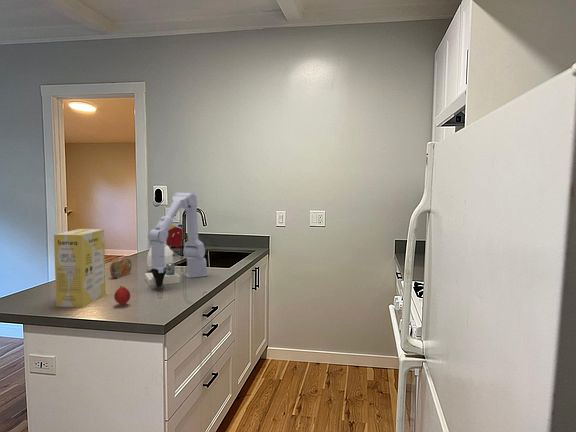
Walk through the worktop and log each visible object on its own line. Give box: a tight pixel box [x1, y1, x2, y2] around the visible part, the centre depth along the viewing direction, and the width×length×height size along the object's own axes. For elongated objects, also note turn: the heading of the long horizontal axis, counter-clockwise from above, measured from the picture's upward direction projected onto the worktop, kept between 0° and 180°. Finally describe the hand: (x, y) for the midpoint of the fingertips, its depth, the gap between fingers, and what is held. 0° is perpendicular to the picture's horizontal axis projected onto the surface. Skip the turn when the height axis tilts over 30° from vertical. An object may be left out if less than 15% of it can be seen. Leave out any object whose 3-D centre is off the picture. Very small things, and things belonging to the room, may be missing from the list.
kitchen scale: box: [144, 266, 181, 287], centre depth 201 cm, size 14×15×6 cm
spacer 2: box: [166, 262, 176, 275], centre depth 201 cm, size 4×4×5 cm
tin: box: [109, 258, 132, 279], centre depth 210 cm, size 15×3×8 cm, turn 168°
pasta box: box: [53, 228, 107, 308], centre depth 167 cm, size 18×10×28 cm, turn 178°
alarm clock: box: [166, 219, 188, 249], centre depth 297 cm, size 15×9×20 cm, turn 130°
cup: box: [146, 244, 174, 271], centre depth 223 cm, size 13×13×14 cm
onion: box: [113, 285, 131, 307], centre depth 162 cm, size 6×6×8 cm
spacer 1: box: [153, 277, 164, 291], centre depth 188 cm, size 4×4×5 cm
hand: (158, 285), depth 188 cm, fingers closed on spacer 1, 4 cm apart
